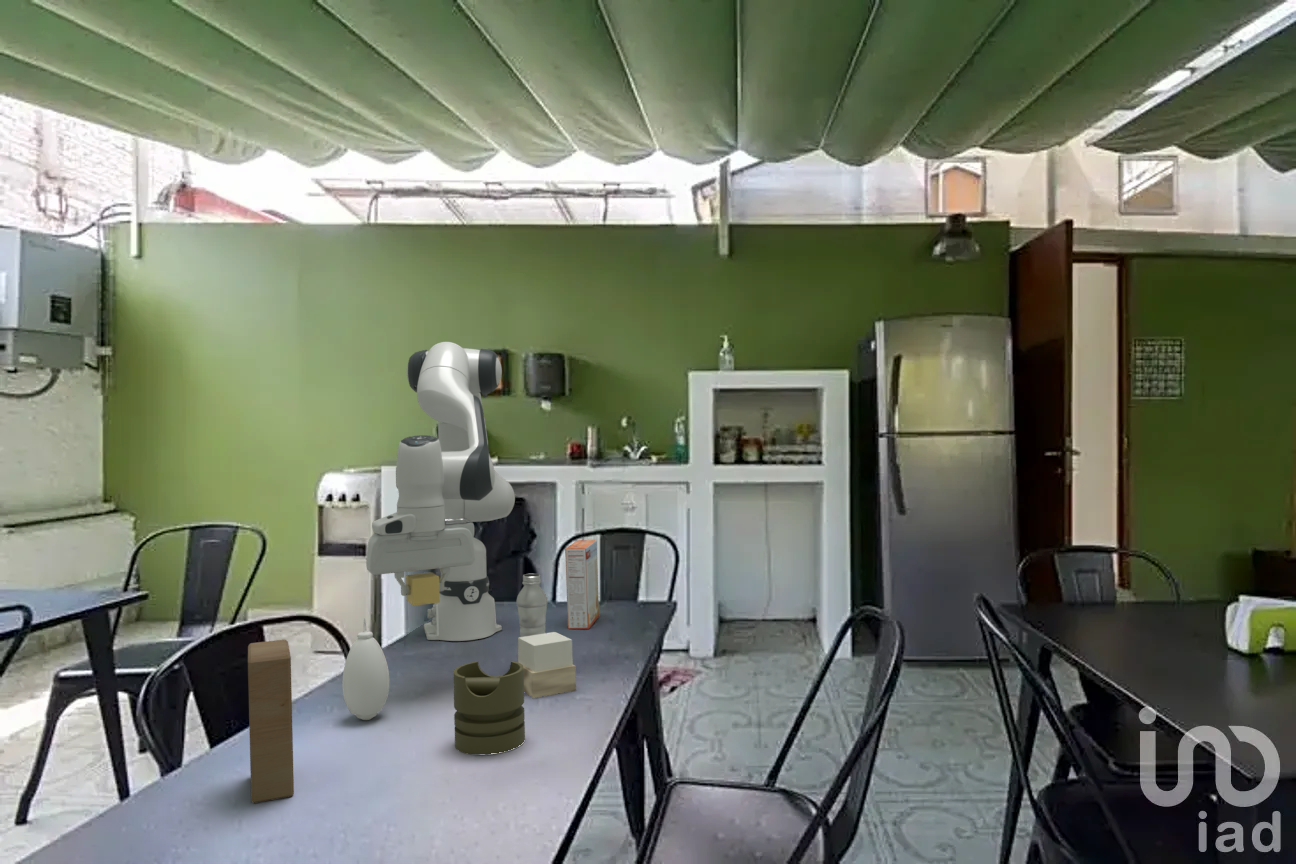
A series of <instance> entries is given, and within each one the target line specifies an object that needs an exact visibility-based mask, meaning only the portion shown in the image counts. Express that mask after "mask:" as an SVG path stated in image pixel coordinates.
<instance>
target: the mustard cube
mask: <svg viewBox="0 0 1296 864" xmlns="http://www.w3.org/2000/svg"><path fill="white" fill-rule="evenodd" d="M439 579H440V576H439V575H437V574H436V573H434V572H425V573H424V572H422V573H415V574H414V573H413V574H412V573H411V574H406V575H405V583H406V584H405V585H410V586H411V590H410V591H411V595H406V602H407V603H409V604H410V605H412V606H414V607H415V606H422V605H430V604H431V605H433V604H434V603H440V597H439V594H440V593H439Z"/></svg>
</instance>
